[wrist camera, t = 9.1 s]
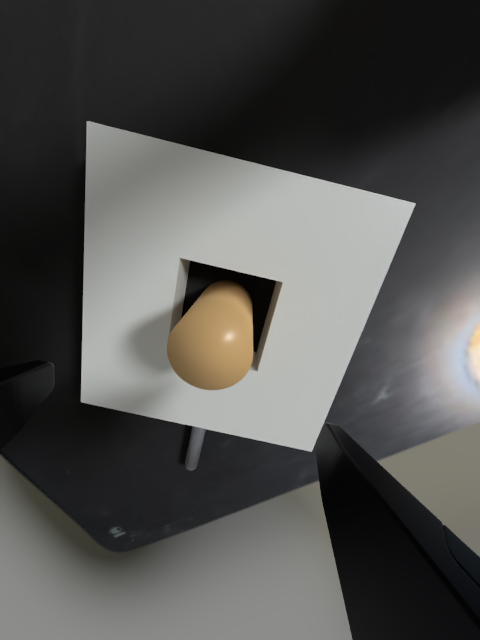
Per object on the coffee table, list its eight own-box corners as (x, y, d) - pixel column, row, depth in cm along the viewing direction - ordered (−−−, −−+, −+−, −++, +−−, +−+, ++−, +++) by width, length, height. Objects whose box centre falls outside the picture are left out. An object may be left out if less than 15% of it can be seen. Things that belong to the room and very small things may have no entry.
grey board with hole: (387, 208, 17) (415, 203, 14) (281, 481, 25) (285, 513, 22) (116, 140, 16) (86, 120, 13) (99, 442, 24) (79, 470, 21)
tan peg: (258, 287, 19) (262, 323, 11) (245, 335, 20) (242, 398, 12) (205, 274, 19) (173, 302, 11) (196, 324, 20) (162, 380, 12)
